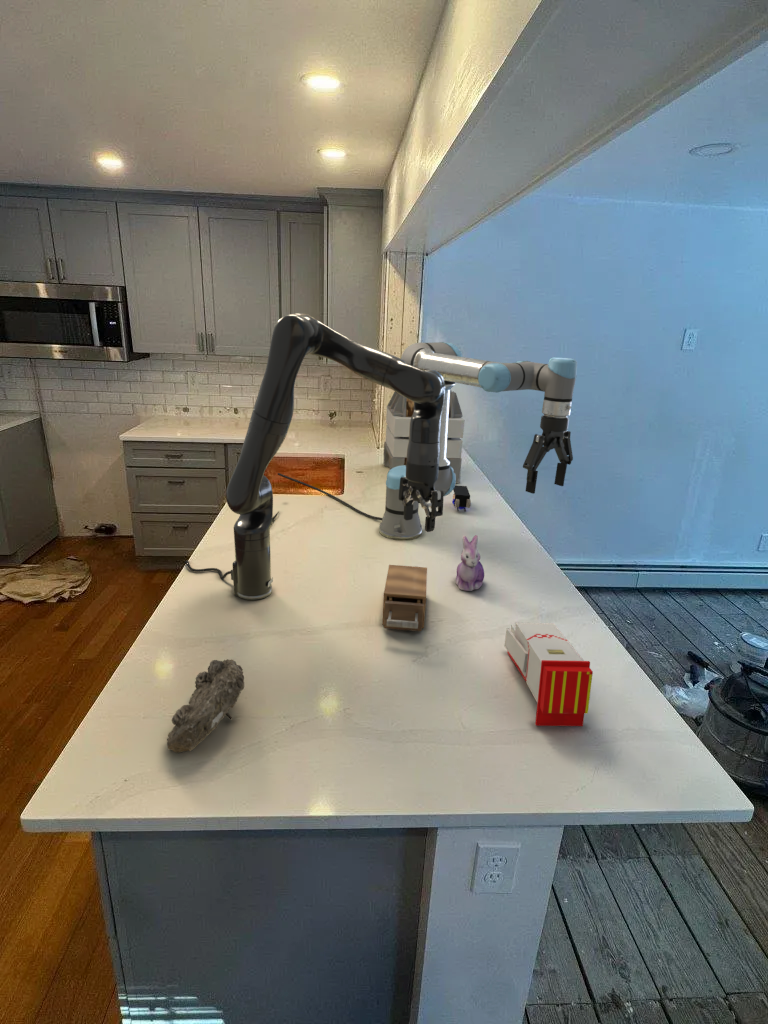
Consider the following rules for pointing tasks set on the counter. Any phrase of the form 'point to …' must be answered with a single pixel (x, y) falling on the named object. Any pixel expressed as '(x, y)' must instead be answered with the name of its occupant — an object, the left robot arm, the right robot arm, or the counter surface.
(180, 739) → the fossil
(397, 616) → the drawer
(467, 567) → the figurine
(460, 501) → the figurine character
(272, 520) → the feather
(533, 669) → the toy
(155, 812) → the counter surface
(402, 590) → the cabinet
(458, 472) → the grey storage bin
